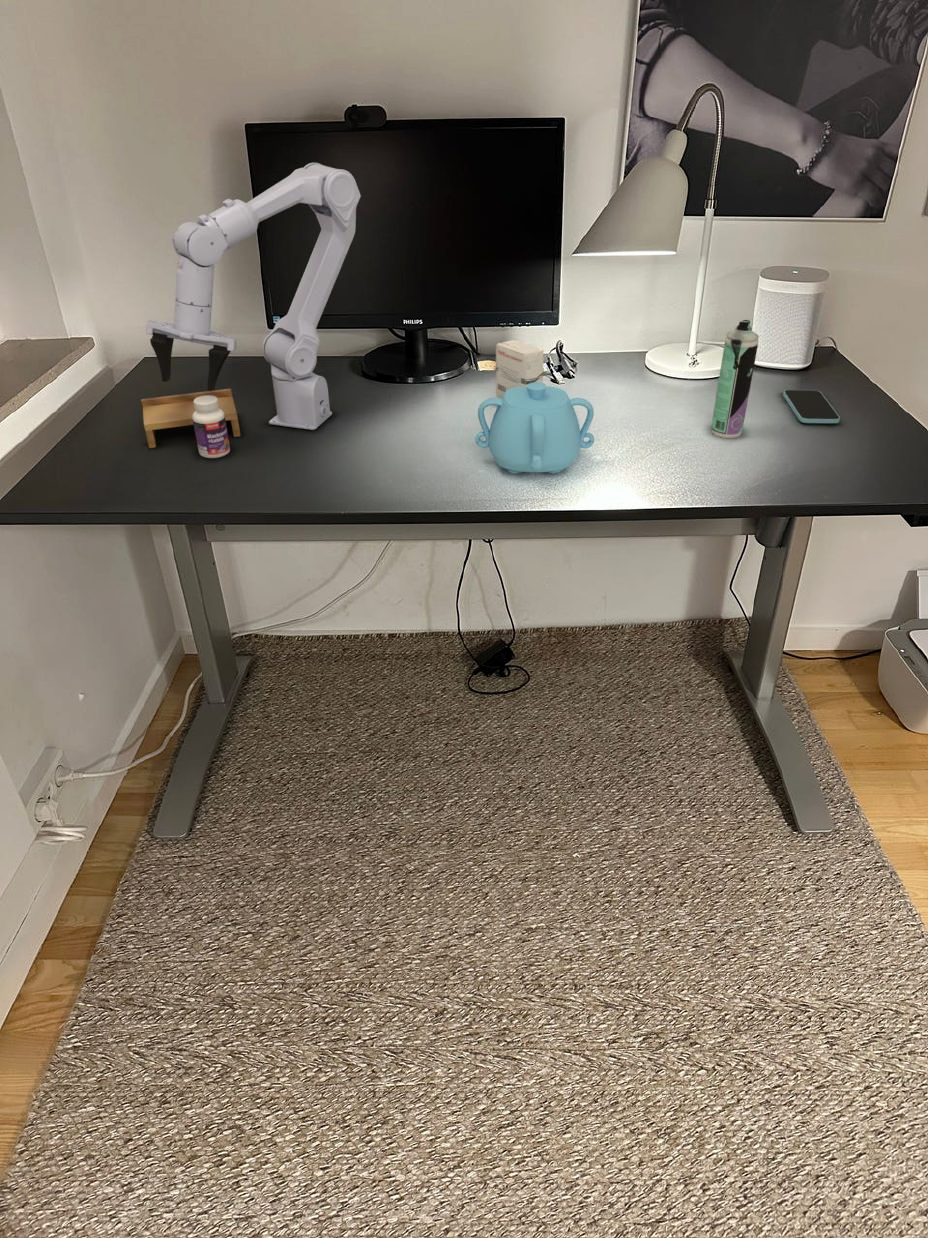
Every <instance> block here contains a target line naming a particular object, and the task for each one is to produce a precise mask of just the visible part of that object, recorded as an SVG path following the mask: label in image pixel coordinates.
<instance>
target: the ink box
mask: <svg viewBox="0 0 928 1238" xmlns="http://www.w3.org/2000/svg"><path fill="white" fill-rule="evenodd" d="M543 379H544V349H541V348H538V347H536V346H533V345H531V344H527V343H525V342H521V341H520V340H516V339H511V340H508V341H503V342H498V343H497V344H495V398H499V399H502V397H503V395H504V394H505V392H506V391H507V390H509V389H511V388H515V387H522V386H527V385H528V384H530V383H533V382H539V383H543V384H544V382H543V381H544V380H543Z"/></svg>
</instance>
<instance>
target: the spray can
mask: <svg viewBox="0 0 928 1238" xmlns="http://www.w3.org/2000/svg"><path fill="white" fill-rule="evenodd" d="M750 325H751V321H750V320H749V319H743V320H741V321H739V323H738V325H737V326H736V327H735V328H734V329H733V330H730V331H728V332H727V333H726V337H725V338H724V345H723V352H722V358H721V363H720V370H719V375H718V383H717V389H716V395H715V401H714V408H713V412H712V413H713V414H712V419H711V426H710V432H711V434H712V435H714V436H715V437H718V438H723V439H736V438H739V437H741V436H742V435H743V430H744V424H745V418H746V412H747V407H748V401H749V397H750V391H751V385H752V381H753V374H754V368H755V363H756V358H757V354H758V353H757V352H758V347H759V337H760V336H759V334H758V333H756V332H754V331H753V328H752V327H751V326H750Z"/></svg>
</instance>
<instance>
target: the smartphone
mask: <svg viewBox="0 0 928 1238" xmlns="http://www.w3.org/2000/svg"><path fill="white" fill-rule="evenodd" d="M782 397H783V398H784V399H785V402H787V404H788V405H789V407H790V409H791V410H792V412H793V413H794V415H795V416H796V418H797V420H798V421H799V422H800V423H804V424H839V423H840V420H841V416H840V415H839V414H838V413H837V411H836V409H834V407H833V406H832V405H831V403H830V402H829V401H828V399H827V398H826V396H824V394H823V393H822V391H820V390H816V389H812V390H811V389H785V390H783V394H782Z"/></svg>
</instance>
